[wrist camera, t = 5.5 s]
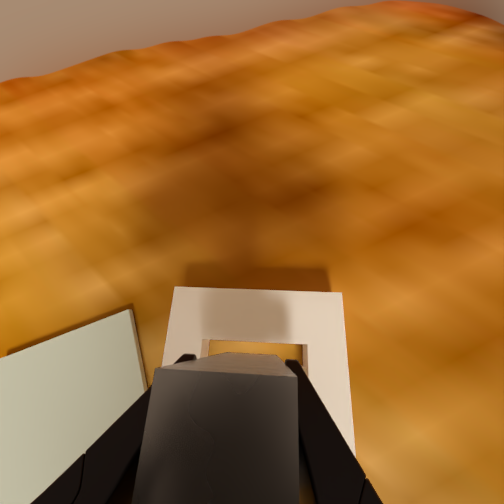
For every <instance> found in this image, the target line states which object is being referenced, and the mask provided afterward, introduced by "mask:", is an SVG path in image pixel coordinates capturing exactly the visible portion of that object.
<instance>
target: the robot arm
mask: <svg viewBox="0 0 504 504" xmlns="http://www.w3.org/2000/svg"><path fill="white" fill-rule="evenodd" d="M195 359H197V357H196V355H195V354H187V353H186V354H183V355H182V356H181V357H180V358H179V359H178V360H177V361H176V362H175V363H174V364H176V363H181V362H185V361H190V360H195ZM285 365H286V366H287V367H288V368H289V369H290V370H291V371H292V372H293V373H294V374H295V375H296V376H297V383H298V443H299V503H300V504H383V503H382V501H381V500H380V498H379V496H378V495H377V493H376V491H375V489H374V488H373V486H372V484H371V483H370V481H369V479H367V478H366V475H365V473H364V471H363V469H362V468H361V466H360V464H359V463H358V461H357V459H356V458H355V456H354V454H353V453H352V451H351V449H350V447H349V446H348V444H347V442H346V441H345V439H344V437H343V436H342V434H341V432H340V431H339V429H338V427H337V426H336V424H335V422H334V420H333V419H332V417H331V415H330V414H329V412H328V410H327V409H326V407H325V405H324V404H323V402H322V400H321V399H320V397H319V395H318V393H317V392H316V390H315V388H314V387H313V385H312V383H311V382H310V380H309V378H308V377H307V375H306V373H305V372H304V370H303V368H302V366H301V365H300V363H299V362H298V361H297V360H292V359H286V360H285ZM151 389H152V385H151V386H150V387H149V388H148V389H147V390H146V391H145V392H144V393H143V394H142V395H141V396H140V397H139V398H138V399H137V400H136V401H135V402H134V403H133V404H132V405H131V406H130V407H129V408H128V409H127V410H126V411H125V412H124V413H123V414H122V415H121V416H120V417H119V418H118V419H117V420H116V421H115V422H114V423H113V424H112V425H111V426H110V427H109V428H108V429H107V430H106V431H105V432H104V433H103V434H102V435H101V436H100V437H99V438H98V439H97V440H96V441H95V442H94V443H93V444H92V445H91V446H90V447H89V448H88V449H87V450H86V452H85V453H83V454H82V455H81V456H80V457H79V458H78V459H77V460H76V461H75V462H74V463H73V464H72V465H71V466H70V467H69V468H68V469H67V470H65V471H64V472H63V473H62V474H61V475H60V476H59V477H58V478H57V479H56V480H55V481H54V482H53V483H52V484H51V485H50V486H49V487H48V488H47V489H46V490H45V491H44V492H42V493H41V494H40V495H39V496H38V497H37V498H36V499H35V500H34V501H33V502H31V503H30V504H131V503H132V498H133V492H134V486H135V481H136V475H137V469H138V463H139V458H140V452H141V446H142V441H143V435H144V429H145V424H146V418H147V412H148V406H149V401H150V395H151ZM365 478H366V479H365Z"/></svg>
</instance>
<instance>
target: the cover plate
mask: <svg viewBox="0 0 504 504" xmlns="http://www.w3.org/2000/svg"><path fill="white" fill-rule="evenodd" d="M210 339H211V340H230V341H249V342H269V343H288V344H302V348H303V367H305V368H306V374H307V377H308V378H309V380H310V382H311V383H312V385H313V387H314V388H315V390H316V392H317V393H318V395H319V397H320V399H321V400H322V402H323V404H324V405H325V407H326V409H327V410H328V412H329V414H330V415H331V417H332V419H333V420H334V422H335V424H336V426H337V427H338V429H339V431H340V432H341V434H342V436H343V437H344V439H345V441H346V442H347V444H348V446H349V447H350V449H351V451H352V453H353V454H354V456H355V458H356V453H355V442H354V430H353V418H352V406H351V395H350V383H349V371H348V359H347V348H346V336H345V324H344V312H343V301H342V293H337V292H310V291H283V290H255V289H228V288H201V287H175V288H174V294H173V300H172V306H171V312H170V318H169V324H168V330H167V336H166V342H165V348H164V354H163V360H162V367H163V366H167V365H172V364H174V363H175V362H176V361H177V360H178V359H179V358H180V357H181V356H182V355H183V354H186V353H187V354H195V355H196V357H197V359H199V358H203V357H208V351H209V342H210Z"/></svg>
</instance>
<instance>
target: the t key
mask: <svg viewBox="0 0 504 504" xmlns="http://www.w3.org/2000/svg"><path fill="white" fill-rule="evenodd" d="M302 368H303V370H304V372H305V373H306V368H305V367H303V366H302ZM306 375H307V374H306ZM131 504H300V503H299V443H298V383H297V376H296V375H295V374H294V373H293V372H292V371H291V370H290V369H289V368H288V367H287V366H286V365H285V363H284V362H283V361H282V360H281V359H280V358H279V357H278V356H277V355H266V354H249V353H231V352H226V353H221V354H217V355H212V356H208V357H203V358H199V359H195V360H190V361H185V362H181V363H176V364H172V365H167V366H163V367H158V368H155V372H154V378H153V384H152V389H151V395H150V401H149V406H148V412H147V418H146V424H145V429H144V435H143V441H142V446H141V452H140V458H139V463H138V469H137V475H136V481H135V486H134V492H133V498H132V503H131Z"/></svg>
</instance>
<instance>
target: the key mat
mask: <svg viewBox="0 0 504 504" xmlns="http://www.w3.org/2000/svg"><path fill="white" fill-rule="evenodd" d="M147 389H148V388H147V383H146V378H145V372H144V367H143V362H142V357H141V352H140V347H139V342H138V337H137V332H136V326H135V321H134V316H133V311H132V310H130V309H128V310H125V311H122V312H120V313H117V314H115V315H112V316H109V317H107V318H104V319H102V320H99V321H96V322H94V323H91V324H89V325H86V326H83V327H81V328H78V329H76V330H73V331H71V332H68V333H65V334H63V335H60V336H58V337H55V338H52V339H50V340H47V341H45V342H42V343H39V344H37V345H34V346H32V347H29V348H27V349H24V350H21V351H19V352H16V353H14V354H11V355H8V356H6V357H3V358H1V359H0V504H30V503H31V502H33V501H34V500H35V499H36V498H37V497H38V496H39V495H40V494H41V493H42V492H44V491H45V490H46V489H47V488H48V487H49V486H50V485H51V484H52V483H53V482H54V481H55V480H56V479H57V478H58V477H59V476H60V475H61V474H62V473H63V472H64V471H65V470H67V469H68V468H69V467H70V466H71V465H72V464H73V463H74V462H75V461H76V460H77V459H78V458H79V457H80V456H81V455H82V454H83V453H85V452H86V450H87V449H88V448H89V447H90V446H91V445H92V444H93V443H94V442H95V441H96V440H97V439H98V438H99V437H100V436H101V435H102V434H103V433H104V432H105V431H106V430H107V429H108V428H109V427H110V426H111V425H112V424H113V423H114V422H115V421H116V420H117V419H118V418H119V417H120V416H121V415H122V414H123V413H124V412H125V411H126V410H127V409H128V408H129V407H130V406H131V405H132V404H133V403H134V402H135V401H136V400H137V399H138V398H139V397H140V396H141V395H142V394H143V393H144V392H145V391H146V390H147Z"/></svg>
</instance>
